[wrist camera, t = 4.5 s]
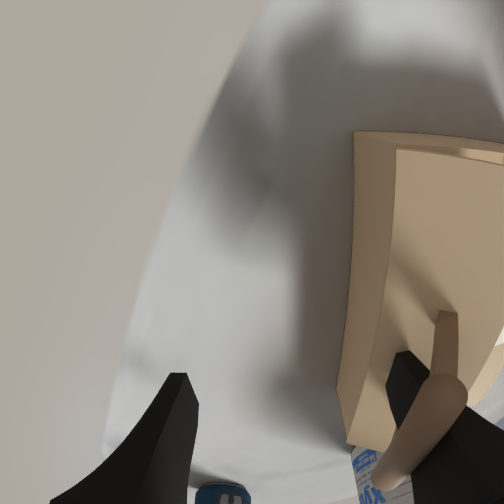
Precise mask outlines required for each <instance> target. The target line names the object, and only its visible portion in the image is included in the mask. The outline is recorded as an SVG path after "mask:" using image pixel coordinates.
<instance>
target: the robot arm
mask: <svg viewBox="0 0 504 504" xmlns="http://www.w3.org/2000/svg"><path fill="white" fill-rule="evenodd" d="M429 375H430V370H429V369H428V368H427V367H426V366H425V365H424V364H423V363H422V362H421V361H420V360H419V359H418V358H417V357H416V356H415V355H414V354H413V353H412V352H411V351H410V350H408V351H403V352H398V353H396V354H395V357H394V360H393V364H392V367H391V370H390V373H389V376H388V379H387V382H386V384H385V388H386V392H387V397H388V401H389V405H390V409H391V412H392V415H393V418H394V421H395V423H396V426H397V429H398V430H399V428H400V426H401V425H402V423H403V421H404V419H405V417H406V416H407V414H408V412H409V410H410V408H411V406H412V404H413V402H414V400H415V398H416V396H417V394H418V392H419V390H420V388H421V386H422V384H423V383H424V381H425V380H426V379H427V378H429ZM198 411H199V403H198V400H197V398H196V395H195V393H194V390H193V388H192V385H191V383H190V380H189V378H188V375H187V373H170V374H169V376H168V377H167V379H166V380H165V382H164V384H163V385H162V387H161V389H160V390H159V392H158V394H157V395H156V397H155V398H154V400H153V401H152V403H151V404H150V406H149V407H148V409H147V410H146V412H145V413H144V415H143V416H142V418H141V419H140V420H139V422H138V423H137V424H136V426H135V427H134V428H133V430H132V431H131V432H130V433H129V435H128V436H127V437H126V438H125V440H124V441H123V442H122V443H121V444H120V445H119V447H118V448H117V449H116V450H115V451H114V452H113V453H112V454H111V455H110V456H109V457H108V458H107V459H106V460H105V461H104V462H103V463H102V464H101V465H100V466H99V467H98V468H96V469H95V470H94V471H93V472H92V473H91V474H89V475H88V476H87V477H85V478H84V479H83V480H82V481H80V482H79V483H78V484H76V485H75V486H73V487H72V488H70V489H69V490H67V491H65V492H64V493H62V494H60V495H59V496H57V497H55V498H54V499H52V500H50V503H49V504H187V488H188V477H189V471H190V465H191V460H192V454H193V449H194V444H195V438H196V433H197V427H198ZM410 475H411V482H412V489H413V498H414V504H504V430H502V429H500V428H499V427H497V426H495V425H494V424H492V423H490V422H489V421H487V420H486V419H484V418H483V417H481V416H480V415H479V414H477V413H476V412H475V411H473V410H472V409H471V408H469V407H468V406H467V405H466V406H465V408H464V409H463V411H462V412H461V414H460V415H459V416H458V418H457V419H456V420H455V422H454V423H453V425H452V426H451V427H450V428H449V430H448V431H447V432H446V434H445V435H444V436H443V437H442V439H441V440H440V441H439V442H438V443H437V445H436V446H435V447H434V448H433V449H432V451H431V452H430V453H429V454H428V455H427V456H426V457H425V459H424V460H423V461H422V462H421V463H420V464H419V465H418V466H417V467H416V468H415V469H414V471H413V472H412V473H411V474H410Z"/></svg>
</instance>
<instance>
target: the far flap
mask: <svg viewBox="0 0 504 504" xmlns="http://www.w3.org/2000/svg"><path fill="white" fill-rule="evenodd" d="M503 327H504V165H503V164H498V163H494V162H489V161H484V160H479V159H473V158H468V157H462V156H456V155H450V154H444V153H437V152H430V151H422V150H414V149H405V148H397V149H396V181H395V200H394V214H393V226H392V236H391V246H390V254H389V262H388V269H387V276H386V283H385V289H384V295H383V301H382V307H381V312H380V318H379V323H378V328H377V332H376V337H375V342H374V346H373V350H372V355H371V359H370V363H369V367H368V371H367V375H366V379H365V382H364V386H363V389H362V393H361V396H360V400H359V403H358V407H357V410H356V413H355V416H354V419H353V422H352V425H351V428H350V431H349V434H348V437H347V440H346V443H348V444H351V445H355V446H359V447H363V448H367V449H371V450H375V451H379V452H384V454H383V456H382V457H381V459H380V460H379V462H378V463H377V465H376V466H375V468H374V469H373V471H372V473H371V482H372V484H373V486H374V487H375V488H377V489H379V490H382V491H389V490H393V489H395V488H396V487H398V486H399V485H400V484H401V483H402V482H403V481H404V480H405V479H406V478H407V477H408V476H409V475H410V474H411V473H412V472H413V471H414V469H415V468H416V467H417V466H418V465H419V464H420V463H421V462H422V461H423V460H424V459H425V457H426V456H427V455H428V454H429V453H430V452H431V451H432V449H433V448H434V447H435V446H436V445H437V443H438V442H439V441H440V440H441V439H442V437H443V436H444V435H445V434H446V432H447V431H448V430H449V428H450V427H451V426H452V425H453V423H454V422H455V420H456V419H457V418H458V416H459V415H460V414H461V412H462V411H463V409H464V408H465V406H466V404H467V401H468V392H469V390H470V389H471V387H472V386H473V384H474V382H475V381H476V379H477V377H478V375H479V374H480V372H481V370H482V368H483V367H484V365H485V363H486V361H487V359H488V357H489V356H490V354H491V352H492V350H493V348H494V346H495V344H496V342H497V340H498V338H499V335H500V333H501V331H502V329H503ZM408 350H410V351H411V352H412V353H413V354H414V355H415V356H416V357H417V358H418V359H419V360H420V361H421V362H422V363H423V364H424V365H425V366H426V367H427V368H428V369H429V370H430V375H429V378H427V379H426V380H425V381H424V383H423V384H422V386H421V388H420V390H419V392H418V394H417V396H416V398H415V400H414V402H413V404H412V406H411V408H410V410H409V412H408V414H407V416H406V417H405V419H404V421H403V423H402V425H401V426H400V428H399V430H398V429H397V426H396V423H395V421H394V418H393V415H392V412H391V409H390V405H389V401H388V397H387V392H386V388H385V384H386V382H387V379H388V376H389V373H390V370H391V367H392V364H393V360H394V357H395V354H396V353H398V352H403V351H408Z"/></svg>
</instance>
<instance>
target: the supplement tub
mask: <svg viewBox="0 0 504 504" xmlns="http://www.w3.org/2000/svg"><path fill="white" fill-rule="evenodd" d="M383 454H384V452H379V451H375V450H371V449H367V448H363V447H359V446H356V447H355V448H354V450H353V452H352V455H351V460H352V465H353V470H354V475H355V480H356V485H357V490H358V496H359V501H360V504H414V498H413V489H412V482H411V475H409V476H408V477H407V478H406V479H405V480H404V481H403V482H402V483H401V484H400V485H399V486H398V487H396V488H395V489H393V490H389V491H382V490H379V489H377V488H375V487H374V486H373V484H372V482H371V473H372V471H373V469H374V468H375V466H376V465H377V463H378V462H379V460H380V459H381V457H382V456H383Z"/></svg>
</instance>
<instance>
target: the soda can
mask: <svg viewBox="0 0 504 504" xmlns="http://www.w3.org/2000/svg"><path fill="white" fill-rule="evenodd" d="M195 504H251V497H250V495H249V493H248V492H247V490H246V489H245V488H244V487H243V486H240V485H236V484H231V483H206V484H203V485H202V486H201V487H200V489H199V490H198V491H197V492H196V496H195Z"/></svg>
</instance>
